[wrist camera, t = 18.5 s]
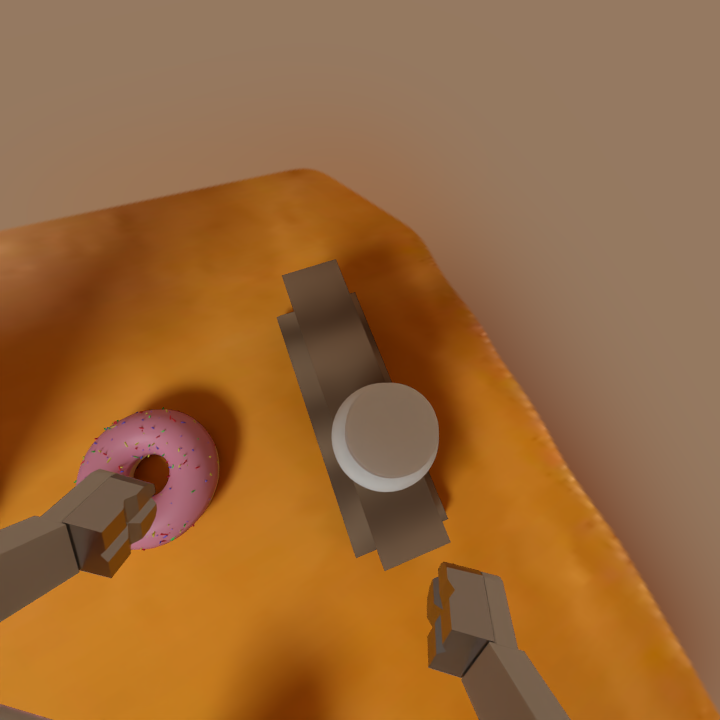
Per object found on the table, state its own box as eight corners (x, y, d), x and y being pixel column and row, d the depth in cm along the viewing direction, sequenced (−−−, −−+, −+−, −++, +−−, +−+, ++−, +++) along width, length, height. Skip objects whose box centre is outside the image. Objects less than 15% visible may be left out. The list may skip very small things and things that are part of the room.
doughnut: (248, 439, 32) (234, 434, 28) (186, 567, 29) (159, 582, 25) (143, 395, 33) (114, 384, 29) (71, 514, 30) (27, 520, 26)
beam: (443, 516, 30) (475, 531, 22) (355, 553, 29) (358, 582, 21) (354, 299, 36) (356, 253, 29) (279, 323, 35) (260, 282, 28)
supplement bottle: (377, 390, 25) (394, 342, 16) (431, 447, 24) (482, 432, 15) (319, 442, 24) (301, 422, 15) (373, 505, 23) (390, 527, 14)
